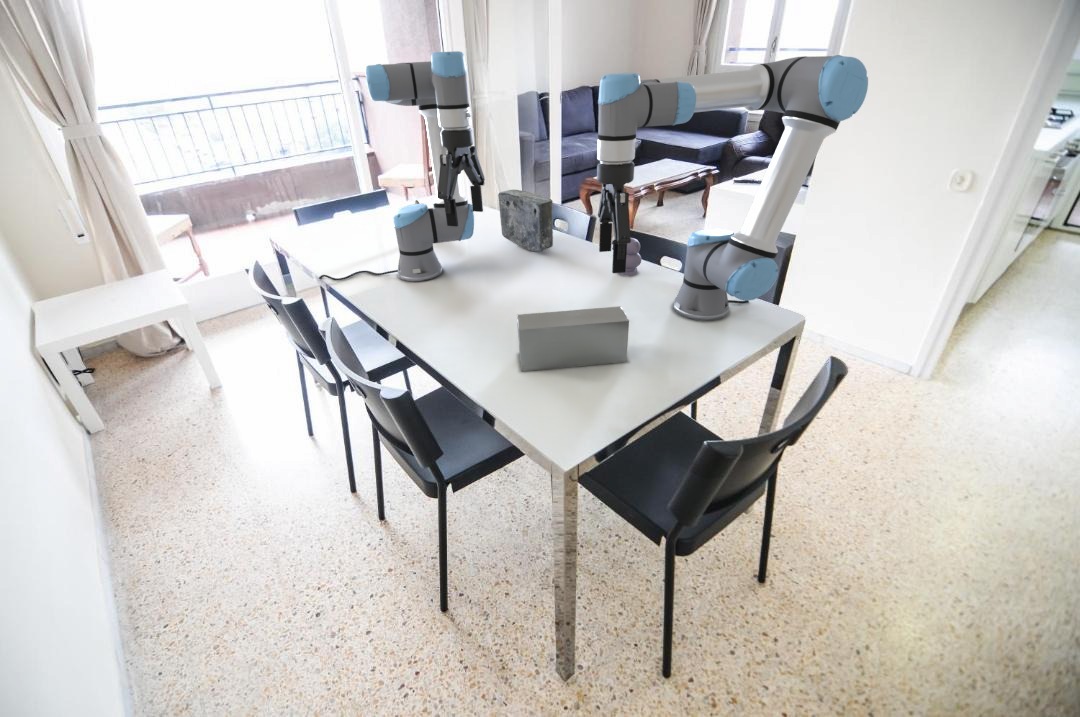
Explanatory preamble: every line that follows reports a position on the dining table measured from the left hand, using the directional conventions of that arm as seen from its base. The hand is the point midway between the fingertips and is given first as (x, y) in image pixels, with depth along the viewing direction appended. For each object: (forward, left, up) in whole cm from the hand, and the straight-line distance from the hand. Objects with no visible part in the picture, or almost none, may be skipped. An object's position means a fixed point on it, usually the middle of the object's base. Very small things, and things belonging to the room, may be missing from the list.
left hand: (465, 218), depth 128 cm
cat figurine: (+34, +48, -30) cm, 65 cm away
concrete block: (-9, +63, -30) cm, 70 cm away
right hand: (+40, -7, -5) cm, 41 cm away
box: (+32, -12, -30) cm, 45 cm away
